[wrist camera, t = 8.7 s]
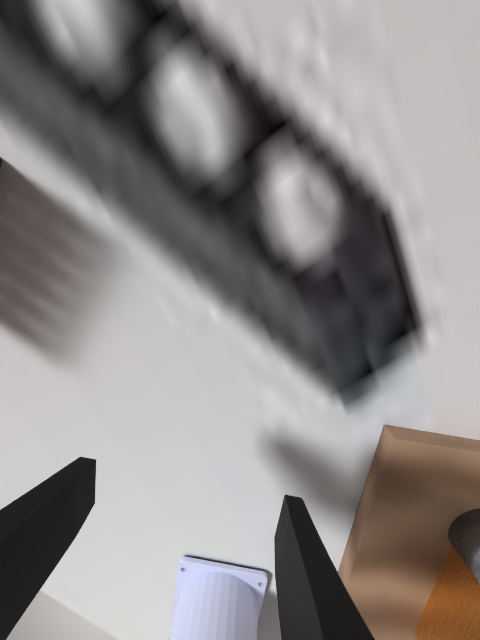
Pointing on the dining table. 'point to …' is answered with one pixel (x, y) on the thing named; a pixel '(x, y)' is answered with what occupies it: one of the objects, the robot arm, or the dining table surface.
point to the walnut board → (407, 525)
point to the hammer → (456, 586)
